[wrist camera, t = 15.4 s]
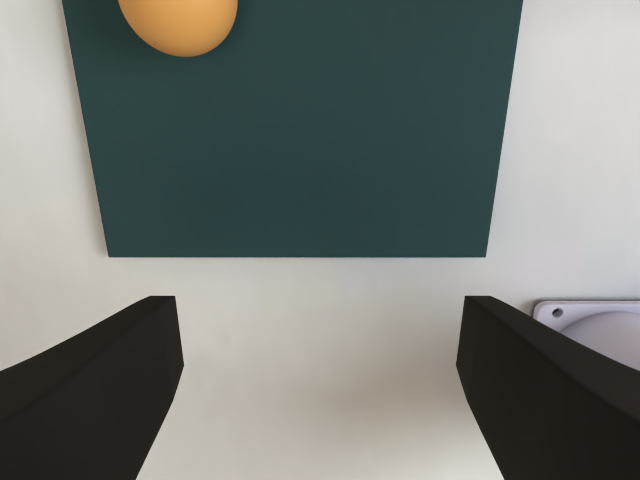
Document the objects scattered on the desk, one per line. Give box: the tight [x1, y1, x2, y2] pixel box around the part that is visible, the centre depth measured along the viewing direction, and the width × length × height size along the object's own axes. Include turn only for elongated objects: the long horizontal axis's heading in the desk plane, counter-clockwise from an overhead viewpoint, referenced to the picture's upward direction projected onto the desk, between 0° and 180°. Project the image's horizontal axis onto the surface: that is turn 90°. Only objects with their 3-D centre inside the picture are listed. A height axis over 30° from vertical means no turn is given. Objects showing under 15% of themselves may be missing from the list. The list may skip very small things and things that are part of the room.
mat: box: [62, 0, 523, 257], centre depth 18 cm, size 18×15×1 cm
